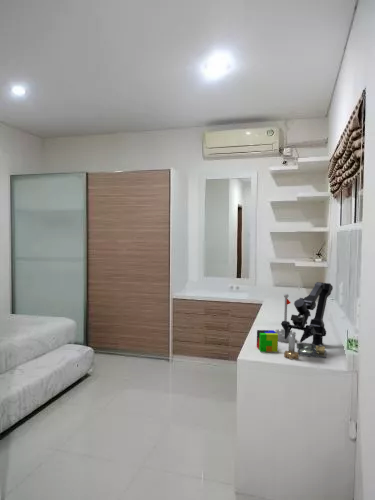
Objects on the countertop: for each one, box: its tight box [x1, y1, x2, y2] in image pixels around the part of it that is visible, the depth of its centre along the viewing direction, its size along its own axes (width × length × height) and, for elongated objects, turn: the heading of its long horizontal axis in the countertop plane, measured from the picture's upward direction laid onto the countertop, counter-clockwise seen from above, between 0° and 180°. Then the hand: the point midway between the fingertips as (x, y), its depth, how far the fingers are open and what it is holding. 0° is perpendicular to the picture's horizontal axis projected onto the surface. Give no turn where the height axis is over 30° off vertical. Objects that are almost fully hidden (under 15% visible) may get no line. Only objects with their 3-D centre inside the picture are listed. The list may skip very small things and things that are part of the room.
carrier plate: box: [296, 342, 327, 359], centre depth 215 cm, size 12×16×5 cm
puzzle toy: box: [256, 329, 279, 353], centre depth 221 cm, size 10×10×10 cm
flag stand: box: [274, 293, 297, 343], centre depth 241 cm, size 13×13×30 cm
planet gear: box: [283, 335, 300, 360], centre depth 207 cm, size 8×7×12 cm
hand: (292, 340), depth 208 cm, fingers open, 9 cm apart
